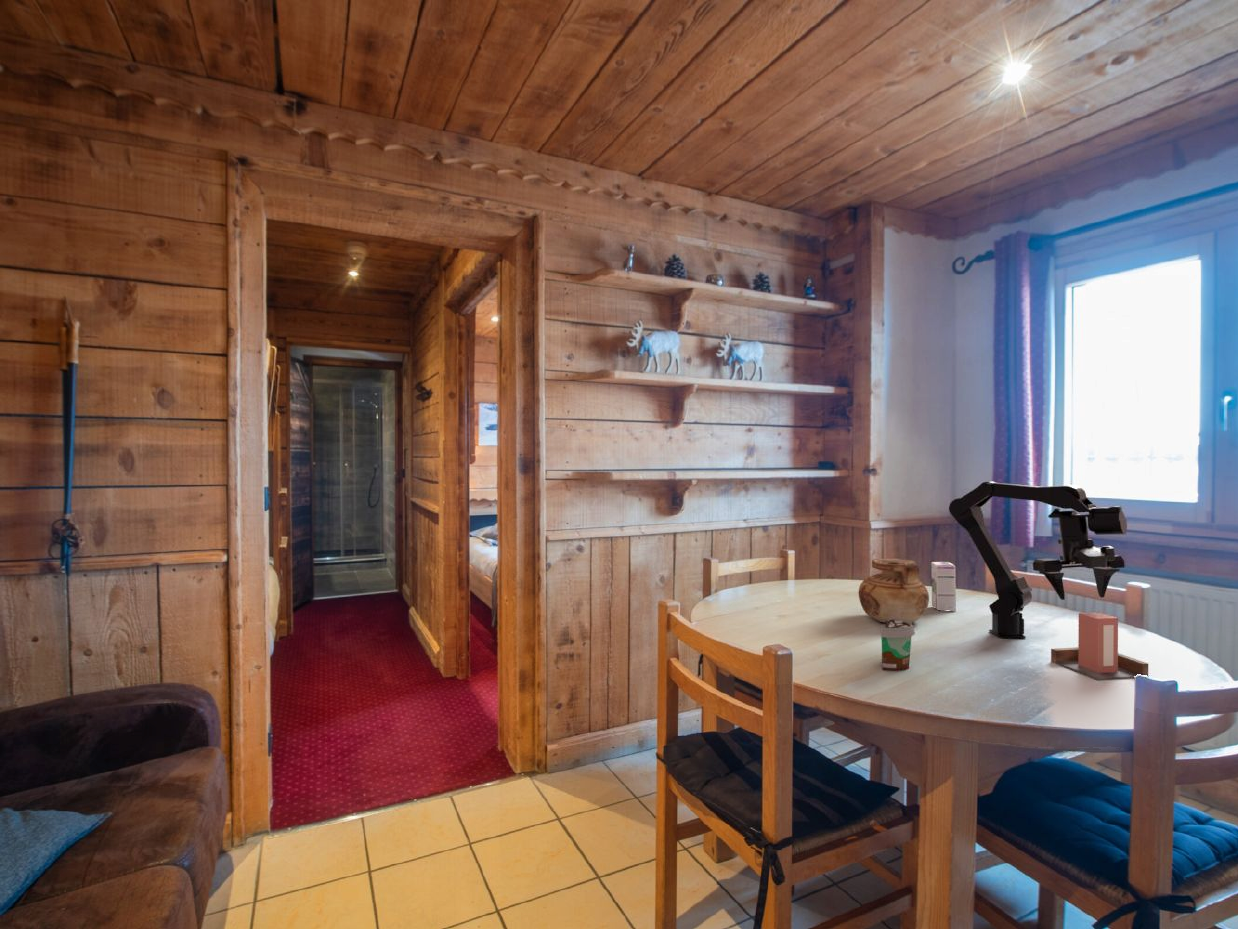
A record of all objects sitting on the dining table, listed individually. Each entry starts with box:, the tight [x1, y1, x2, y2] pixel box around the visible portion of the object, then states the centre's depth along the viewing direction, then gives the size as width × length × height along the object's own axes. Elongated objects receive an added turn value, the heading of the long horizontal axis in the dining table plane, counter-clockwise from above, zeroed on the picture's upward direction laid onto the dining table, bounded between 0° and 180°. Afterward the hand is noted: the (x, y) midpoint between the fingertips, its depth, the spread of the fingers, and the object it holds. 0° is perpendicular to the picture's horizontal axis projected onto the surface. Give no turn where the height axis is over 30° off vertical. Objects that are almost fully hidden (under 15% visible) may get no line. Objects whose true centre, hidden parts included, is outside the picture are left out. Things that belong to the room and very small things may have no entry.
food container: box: [880, 616, 916, 672], centre depth 146 cm, size 12×6×10 cm, turn 148°
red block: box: [1078, 611, 1119, 673], centre depth 142 cm, size 5×5×12 cm
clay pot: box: [858, 557, 930, 624], centre depth 186 cm, size 19×19×20 cm
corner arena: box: [1050, 647, 1149, 681], centre depth 143 cm, size 12×12×3 cm
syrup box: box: [931, 561, 957, 612], centre depth 198 cm, size 6×6×14 cm
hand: (1082, 598), depth 157 cm, fingers open, 9 cm apart
